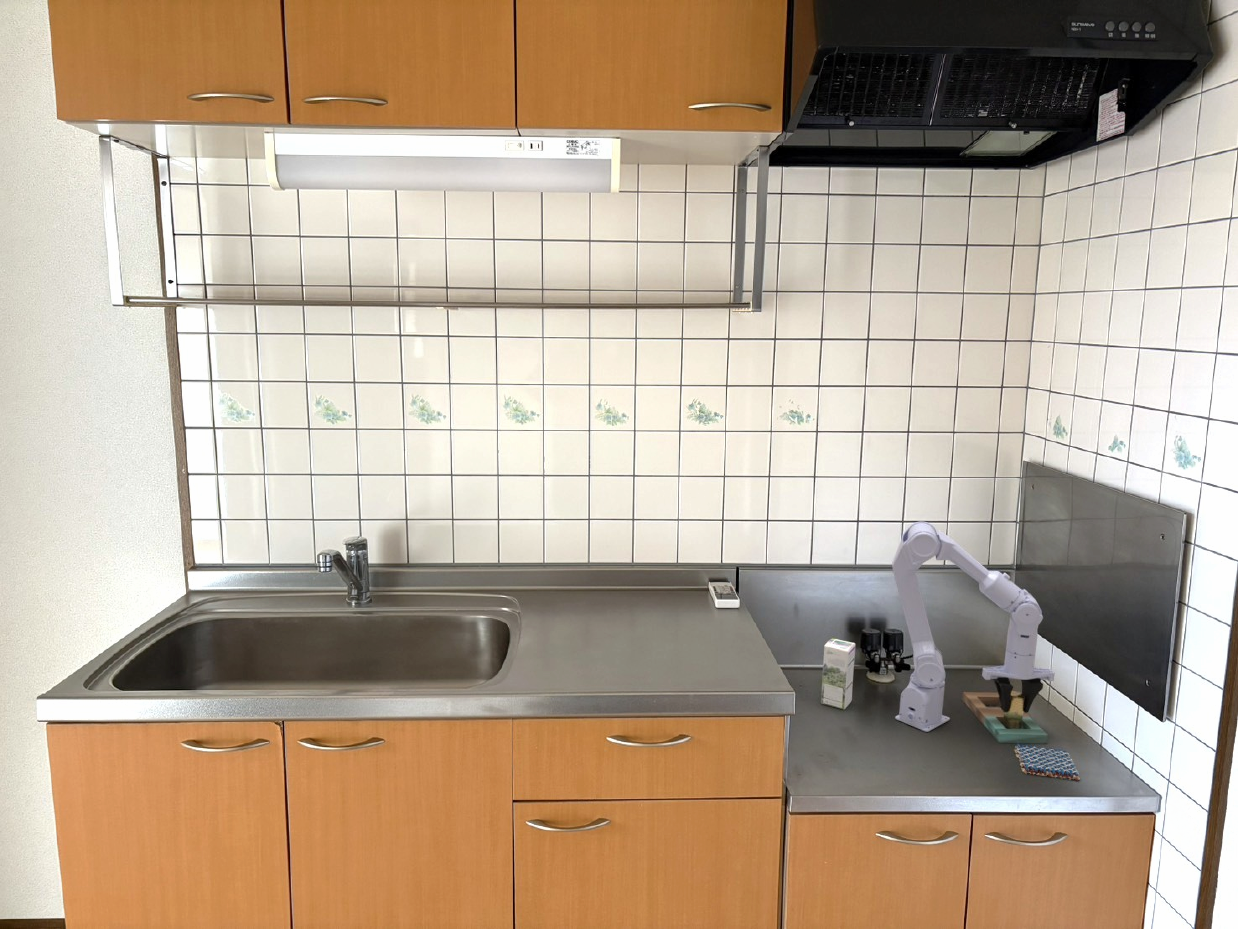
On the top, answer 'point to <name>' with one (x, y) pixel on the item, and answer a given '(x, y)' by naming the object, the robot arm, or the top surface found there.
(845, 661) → the syrup box
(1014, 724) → the brass pin
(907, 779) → the top surface
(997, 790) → the top surface
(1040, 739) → the docking plate
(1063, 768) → the woven mat
